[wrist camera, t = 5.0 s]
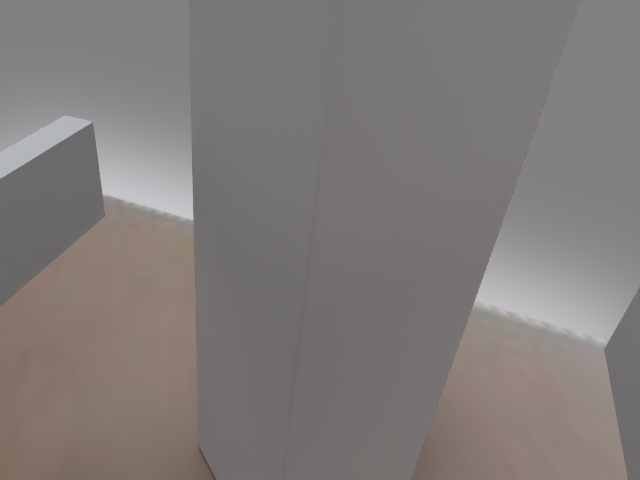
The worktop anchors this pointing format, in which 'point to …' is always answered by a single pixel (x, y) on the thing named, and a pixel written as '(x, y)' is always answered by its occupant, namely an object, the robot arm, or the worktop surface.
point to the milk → (349, 215)
